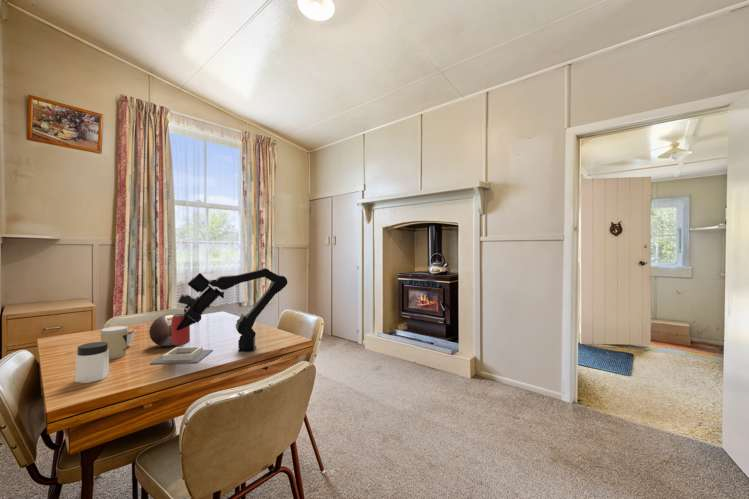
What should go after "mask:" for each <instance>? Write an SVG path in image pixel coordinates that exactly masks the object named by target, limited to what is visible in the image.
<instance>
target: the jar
mask: <svg viewBox="0 0 749 499" xmlns="http://www.w3.org/2000/svg"><path fill="white" fill-rule="evenodd" d="M76 353H77V354H76V355H75V383H78V384H79V383H80V384H90V383H94V382H97V381H102V380H104V379H105V378H106V377H108V376H109V374H110V368H109V367H110V366H109V365H110V359H109V349H108V343H107V342H101V341H95V342H93V341H92V342H88V343H84V344H81V345H78V346H77V352H76Z"/></svg>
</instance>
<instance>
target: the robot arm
mask: <svg viewBox="0 0 749 499" xmlns="http://www.w3.org/2000/svg"><path fill="white" fill-rule="evenodd" d="M262 278H266V279H267V280H269V281H270V283H269V285H268V288H267V290H266V291H265V292H264V294H263V295H262V296H261V297H260V299H259V300H258V301H256V303H255V304H254V306H253V307H252V308H251V309H250V310H249V312H248V313H247V314H245V315H244V314H241V315H240V317H239V318H238V319H236V324H235V329H236V331H237V333H238V334H240V336H239V339H238V346H237V347H238V352H253V351H255V349H256V348H257V345H256V333H257V332H256V331H255V330H254V329H253V326H254V325H255V322H256V320H257V318H258V317H259V315H260V314H261V313H262V311H263V310H264V309H265V308H266V306H267V305H268V304H269V303H270V302H271V301H272V299H273V298H274V297H275V295H277V294H278V293H279V292H281V291H283V289H284V288H285V287H286V286H287V285H288V279H287V277H286V276H284V275H280V274H277V273H274V272H273V271H271V270H270V269H269V268H265V267H263V268H260V269H257V270H252V271H249V272H245V273H240V274H235V275H220V276H218V277H217V278H216V279H210V280H209V279H208V278H206V277H205V276H204V275H203V273H201V272H200V273H198V274H196V275H195V276H194V277H192V279H190V280H189V281H188V282H187V284H186V285H188V286H189V287H190V288H191V289H192V290H194V291H195V292H196V293H202V294H200V295H199V296H197V297H196V298H195V297H193V296H191V295H189V294H184V293H183V294H181V295H180V297H179V299H178V301H177V302H178V303H179V304H183V305H185V306H184V308H183V312H184V313H183V314H184V319H183V320H182V321H181V323H180V324H179V325H178V327H177V328H176V330H181V329H183V328H185V327H187V326H189V325H190V326H191V325H193V324H196V323H197V324H199V322H200V321H201V320H202V315H203V313H204V312H205V311H206V310H207V309H208V308H210V307H211V305H212V304H213V303H214V302H215V301H216V300H217V299H218V298H219V297H221V299H224V298H225V296H224V295H225V291H226V290H229V289H230V288H232V287H235V286H236V285H239V284H241V283H246V282H249V281H252V280H253V281H254V280H258V279H262ZM213 287H215V288H213ZM219 289H220V290H221V291H220V290H219Z"/></svg>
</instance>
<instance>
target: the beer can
mask: <svg viewBox="0 0 749 499" xmlns="http://www.w3.org/2000/svg"><path fill="white" fill-rule="evenodd" d="M183 319H184V313H179V314H178V313H177V314H174V315H173V318H172V321H171V327H172V344H173V345H172V346H182V345H187V344H189V343H190V341H191V328H190V326H191V325H189V326H187V327H185V328H183V329H181V330H176V328H177V327H178V325H179V324H180V323H181V321H182V320H183Z"/></svg>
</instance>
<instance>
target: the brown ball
mask: <svg viewBox="0 0 749 499" xmlns="http://www.w3.org/2000/svg"><path fill="white" fill-rule="evenodd" d="M173 315H175V314H173V313H169V314H164V315H161V316H159V317H157V318H156V319H154V321H153V322H152V324H151V325H150V328H149V337H150V339H151V341H152V343H154V344H156V345H158V346H161V347H172V346H174V345H173V344H172V327H171V321H172V318H173Z"/></svg>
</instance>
